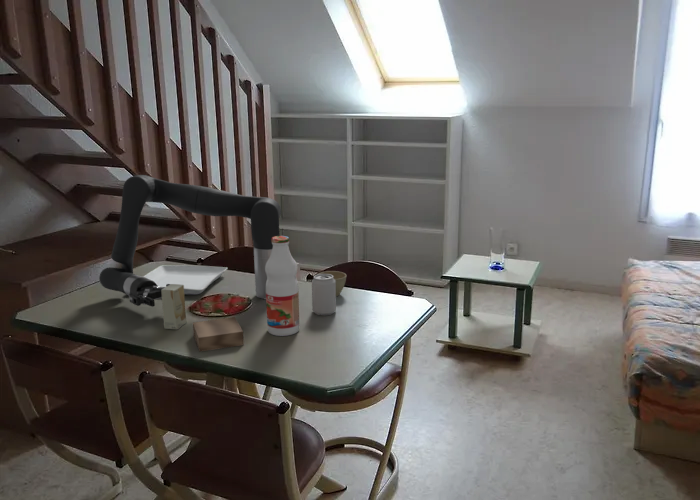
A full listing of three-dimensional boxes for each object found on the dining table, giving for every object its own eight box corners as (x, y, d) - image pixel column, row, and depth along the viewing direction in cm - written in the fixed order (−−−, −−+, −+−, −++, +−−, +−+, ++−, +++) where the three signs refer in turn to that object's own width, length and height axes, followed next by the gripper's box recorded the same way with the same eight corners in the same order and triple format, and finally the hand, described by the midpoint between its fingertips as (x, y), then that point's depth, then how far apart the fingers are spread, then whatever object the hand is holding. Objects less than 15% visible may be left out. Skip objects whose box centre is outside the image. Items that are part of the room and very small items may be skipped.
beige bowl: (336, 301, 203) (336, 281, 202) (311, 296, 209) (311, 276, 207) (352, 293, 212) (351, 273, 210) (328, 288, 217) (327, 269, 215)
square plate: (161, 273, 237) (160, 264, 236) (229, 276, 234) (228, 266, 233) (127, 296, 211) (126, 285, 210) (203, 299, 208) (202, 288, 207)
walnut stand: (235, 329, 180) (234, 316, 179) (243, 344, 169) (243, 331, 168) (193, 335, 176) (192, 322, 175) (199, 351, 165) (198, 337, 164)
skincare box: (177, 330, 180) (174, 290, 177) (163, 329, 181) (160, 289, 178) (187, 322, 186) (184, 284, 183) (174, 321, 187) (170, 283, 184)
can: (340, 310, 195) (339, 274, 192) (329, 317, 189) (328, 280, 186) (319, 306, 199) (318, 271, 196) (308, 314, 192) (307, 277, 189)
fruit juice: (306, 330, 179) (303, 237, 172) (280, 339, 173) (276, 243, 166) (286, 322, 186) (283, 232, 178) (261, 330, 179) (256, 237, 172)
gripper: (117, 282, 189) (143, 293, 179) (159, 272, 199) (186, 282, 188) (120, 305, 191) (145, 317, 180) (161, 294, 201) (188, 305, 190)
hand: (166, 299), depth 184 cm, fingers open, 8 cm apart
